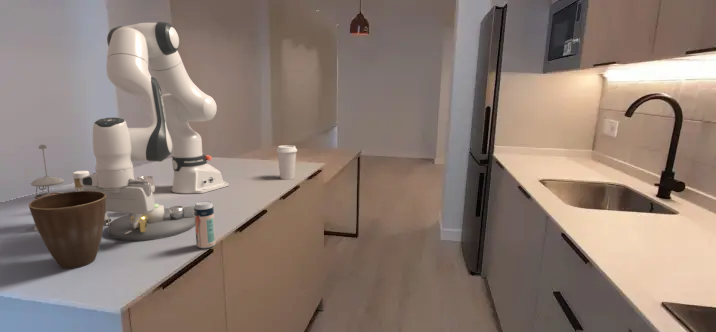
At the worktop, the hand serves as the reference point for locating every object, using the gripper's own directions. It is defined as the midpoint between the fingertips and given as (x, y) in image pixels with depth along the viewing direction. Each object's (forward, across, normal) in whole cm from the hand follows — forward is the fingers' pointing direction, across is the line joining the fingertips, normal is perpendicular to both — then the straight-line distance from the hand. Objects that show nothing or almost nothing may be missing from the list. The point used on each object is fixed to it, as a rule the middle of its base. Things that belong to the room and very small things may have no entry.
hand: (120, 226), depth 114 cm
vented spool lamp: (+4, +29, -6) cm, 29 cm away
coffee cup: (+4, -19, -83) cm, 85 cm away
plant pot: (+4, -1, +16) cm, 16 cm away
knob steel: (+1, -10, -15) cm, 18 cm away
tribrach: (+4, -2, -11) cm, 12 cm away
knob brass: (+1, -4, -3) cm, 5 cm away
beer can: (+4, -26, 0) cm, 26 cm away
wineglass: (+4, +9, -23) cm, 25 cm away
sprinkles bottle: (+4, +32, -21) cm, 38 cm away
